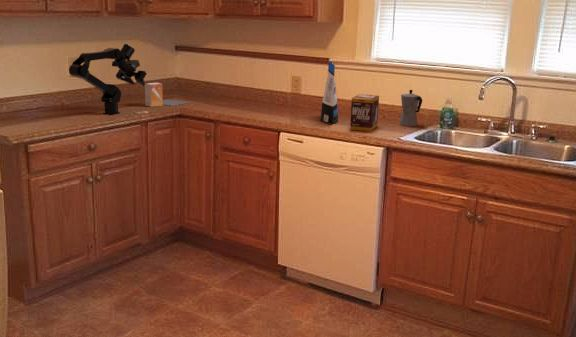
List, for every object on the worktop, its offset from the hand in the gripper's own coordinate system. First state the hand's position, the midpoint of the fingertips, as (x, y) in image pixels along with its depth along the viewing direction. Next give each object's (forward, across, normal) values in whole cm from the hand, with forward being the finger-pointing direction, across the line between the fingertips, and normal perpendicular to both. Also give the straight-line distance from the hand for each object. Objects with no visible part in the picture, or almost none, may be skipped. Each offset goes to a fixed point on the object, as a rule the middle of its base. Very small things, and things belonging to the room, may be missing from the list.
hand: (139, 84), depth 336 cm
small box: (+18, 0, +1) cm, 18 cm away
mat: (+26, 0, -8) cm, 28 cm away
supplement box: (+28, -127, -9) cm, 130 cm away
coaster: (+2, -11, +17) cm, 20 cm away
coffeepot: (+41, -144, -24) cm, 151 cm away
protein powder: (+32, -104, -14) cm, 110 cm away
